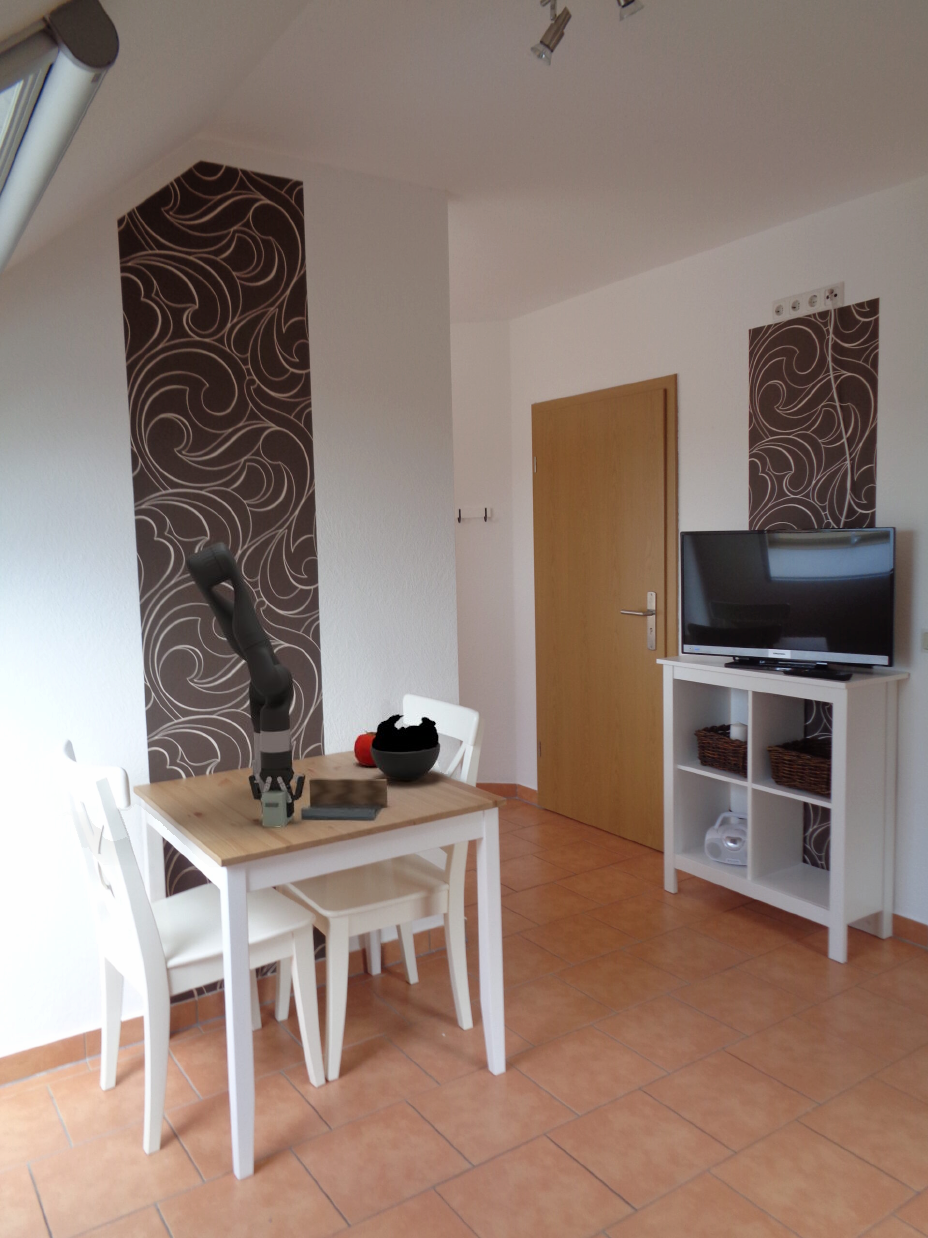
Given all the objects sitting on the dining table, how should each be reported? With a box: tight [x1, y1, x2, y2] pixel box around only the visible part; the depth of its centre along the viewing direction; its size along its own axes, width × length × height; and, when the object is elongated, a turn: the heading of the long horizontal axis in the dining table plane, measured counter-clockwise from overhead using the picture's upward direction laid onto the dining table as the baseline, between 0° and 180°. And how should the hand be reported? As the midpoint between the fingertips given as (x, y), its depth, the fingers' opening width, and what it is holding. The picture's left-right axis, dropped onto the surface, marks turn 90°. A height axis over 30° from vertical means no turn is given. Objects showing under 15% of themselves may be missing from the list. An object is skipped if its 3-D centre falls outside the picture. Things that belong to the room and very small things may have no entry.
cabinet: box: [261, 785, 294, 828], centre depth 220 cm, size 5×9×8 cm, turn 173°
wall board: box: [308, 777, 388, 809], centre depth 233 cm, size 20×2×7 cm, turn 83°
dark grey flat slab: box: [300, 804, 383, 821], centre depth 227 cm, size 18×11×2 cm, turn 83°
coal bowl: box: [370, 713, 441, 782], centre depth 259 cm, size 20×20×19 cm
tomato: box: [353, 730, 377, 767], centre depth 279 cm, size 12×12×10 cm
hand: (278, 816), depth 221 cm, fingers closed on cabinet, 5 cm apart
